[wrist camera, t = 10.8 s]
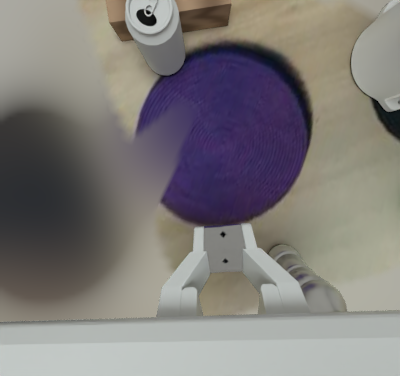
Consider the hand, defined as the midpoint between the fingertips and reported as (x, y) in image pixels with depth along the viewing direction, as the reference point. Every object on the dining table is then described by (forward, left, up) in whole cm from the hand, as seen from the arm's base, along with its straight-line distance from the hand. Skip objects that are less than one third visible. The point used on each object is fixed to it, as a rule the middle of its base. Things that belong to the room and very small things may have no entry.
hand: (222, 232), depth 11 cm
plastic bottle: (-13, +18, -30) cm, 37 cm away
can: (+5, -25, -30) cm, 39 cm away
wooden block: (+3, -30, -30) cm, 43 cm away
